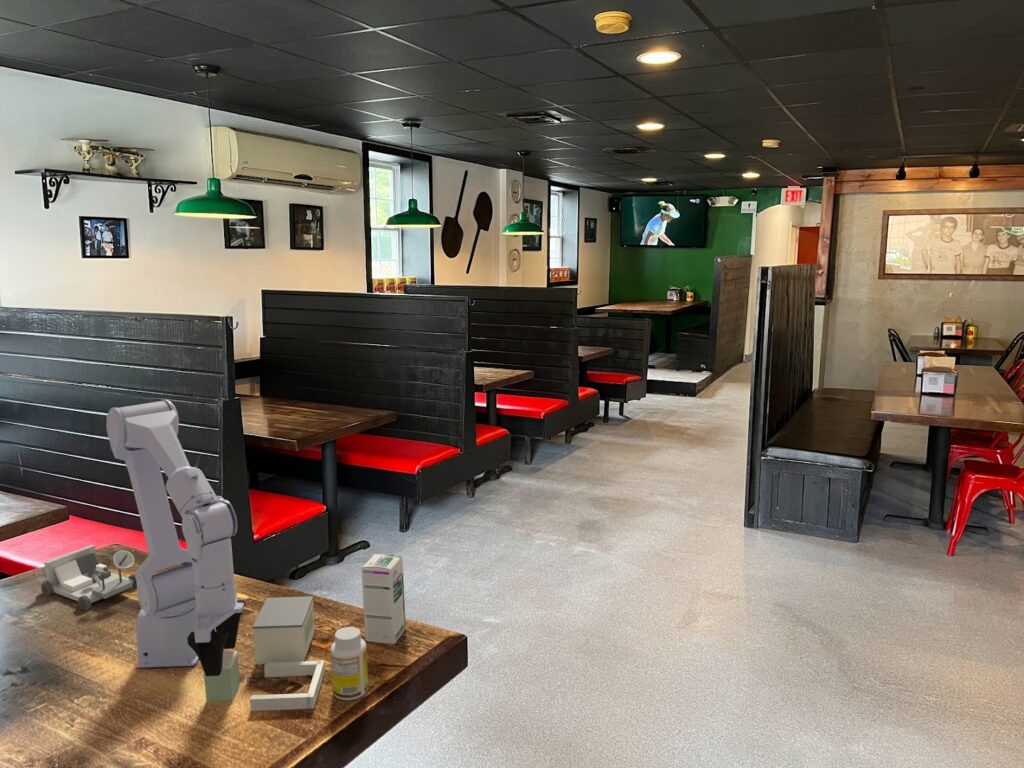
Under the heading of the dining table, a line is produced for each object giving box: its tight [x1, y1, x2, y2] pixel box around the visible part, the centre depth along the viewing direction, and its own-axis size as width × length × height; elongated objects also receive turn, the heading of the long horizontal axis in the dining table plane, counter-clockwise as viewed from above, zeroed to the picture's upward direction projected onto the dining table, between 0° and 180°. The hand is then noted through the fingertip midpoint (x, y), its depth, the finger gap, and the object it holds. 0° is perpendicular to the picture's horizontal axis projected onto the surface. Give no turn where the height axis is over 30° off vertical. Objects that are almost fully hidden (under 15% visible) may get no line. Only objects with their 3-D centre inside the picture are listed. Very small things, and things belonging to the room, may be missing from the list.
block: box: [203, 650, 241, 703], centre depth 120 cm, size 4×4×6 cm
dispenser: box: [251, 596, 315, 665], centre depth 133 cm, size 8×10×7 cm
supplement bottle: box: [330, 626, 369, 701], centre depth 120 cm, size 6×6×10 cm
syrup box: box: [360, 553, 407, 645], centre depth 136 cm, size 6×6×14 cm
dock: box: [249, 660, 326, 712], centre depth 121 cm, size 10×10×2 cm
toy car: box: [40, 544, 137, 611], centre depth 153 cm, size 18×10×12 cm
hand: (221, 660), depth 119 cm, fingers open, 7 cm apart
